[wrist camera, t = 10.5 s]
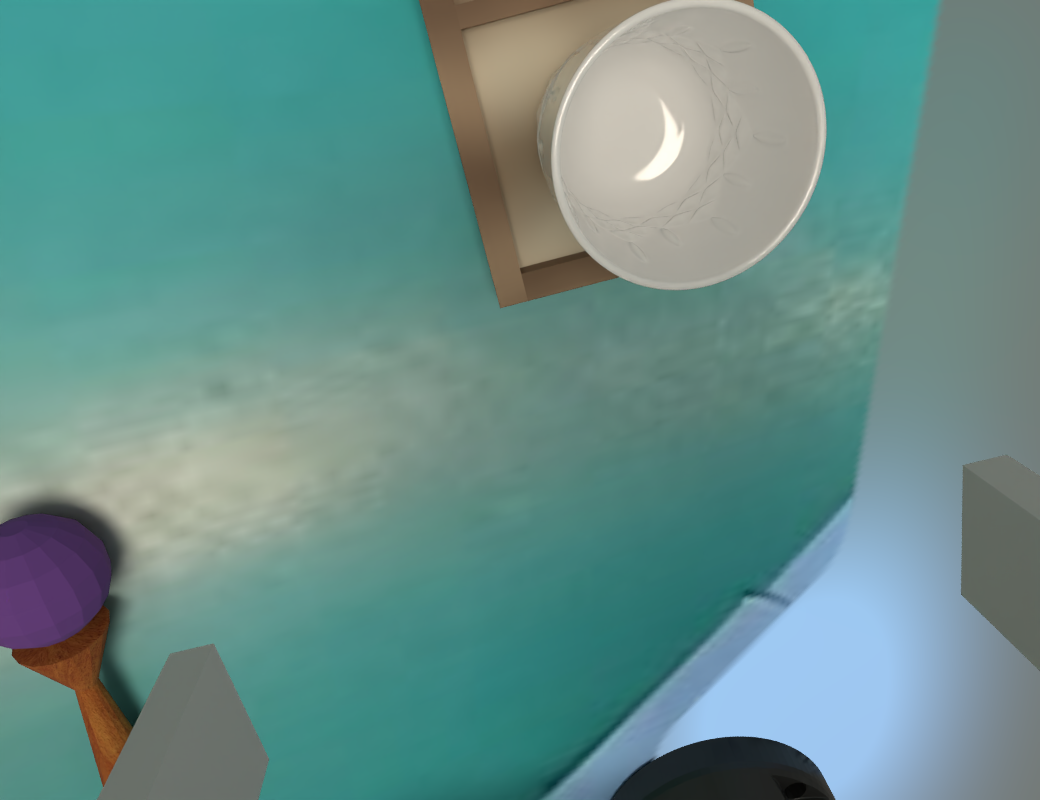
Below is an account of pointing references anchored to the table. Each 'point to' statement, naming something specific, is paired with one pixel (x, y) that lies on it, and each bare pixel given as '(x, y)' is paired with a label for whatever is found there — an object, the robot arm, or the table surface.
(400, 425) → the table surface
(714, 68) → the white cup
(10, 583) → the kendama
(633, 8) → the wooden divided tray
